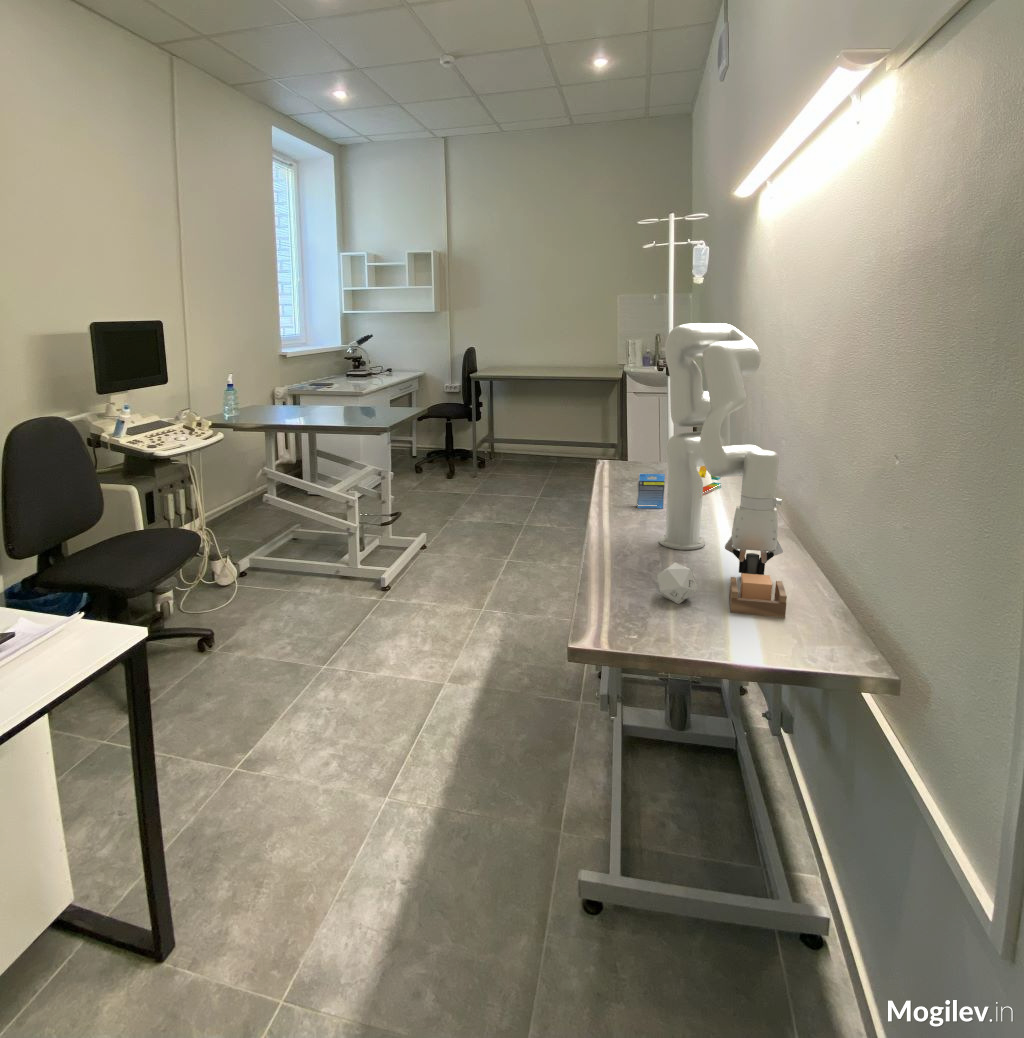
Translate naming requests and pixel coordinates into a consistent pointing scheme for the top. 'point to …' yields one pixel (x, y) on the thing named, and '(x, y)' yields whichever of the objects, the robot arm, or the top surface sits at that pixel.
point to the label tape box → (651, 490)
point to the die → (676, 583)
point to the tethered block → (755, 581)
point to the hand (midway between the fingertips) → (750, 575)
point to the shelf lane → (758, 602)
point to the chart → (702, 473)
